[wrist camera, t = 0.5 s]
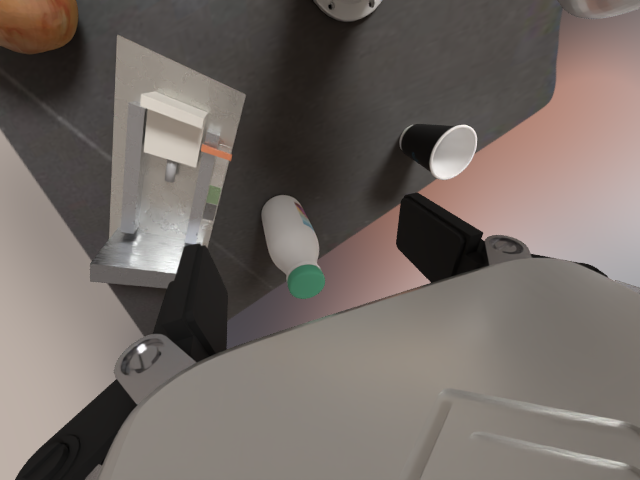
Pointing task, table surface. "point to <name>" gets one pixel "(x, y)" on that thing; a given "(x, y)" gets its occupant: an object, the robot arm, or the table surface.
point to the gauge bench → (161, 171)
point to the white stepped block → (175, 132)
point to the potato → (37, 24)
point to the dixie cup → (440, 148)
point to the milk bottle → (293, 245)
